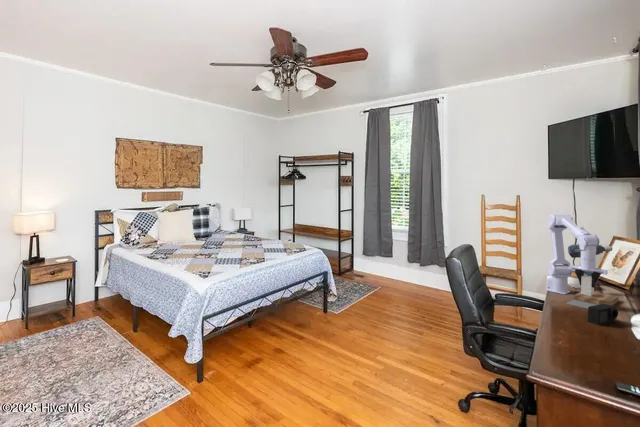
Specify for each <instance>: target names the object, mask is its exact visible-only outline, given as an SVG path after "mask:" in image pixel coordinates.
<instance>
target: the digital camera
mask: <svg viewBox="0 0 640 427" xmlns="http://www.w3.org/2000/svg"><path fill="white" fill-rule="evenodd" d="M618 316H619V310H618V309H617V308H616V306H614V305H612V306H611V305H607V304H600V305H598V304H596V305H594V306H589V307H588V309H587V322H588V323H590V324H593V325H597V326H603V325H607V324H612V323H615V322H616V318H618Z"/></svg>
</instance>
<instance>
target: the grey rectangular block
mask: <svg viewBox="0 0 640 427" xmlns="http://www.w3.org/2000/svg"><path fill="white" fill-rule="evenodd" d="M580 292H581V294H584V295H589V296H592V295H594V292H595V287H594V288H593V287H592V276H588V275H583V276H581V288H580Z"/></svg>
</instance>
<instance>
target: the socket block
mask: <svg viewBox="0 0 640 427" xmlns="http://www.w3.org/2000/svg"><path fill="white" fill-rule="evenodd" d="M619 298H620V297H619V295H613V294H608V293H602V292H598V291H594V295H592V296H589V295H584V294H581V291H579V292H578V293H576V294H574V300H578V301H582V302H587V303H592V304H596V305H600V304H607V305H611V306H614V305H615V304H617V303H618V302H619Z"/></svg>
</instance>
